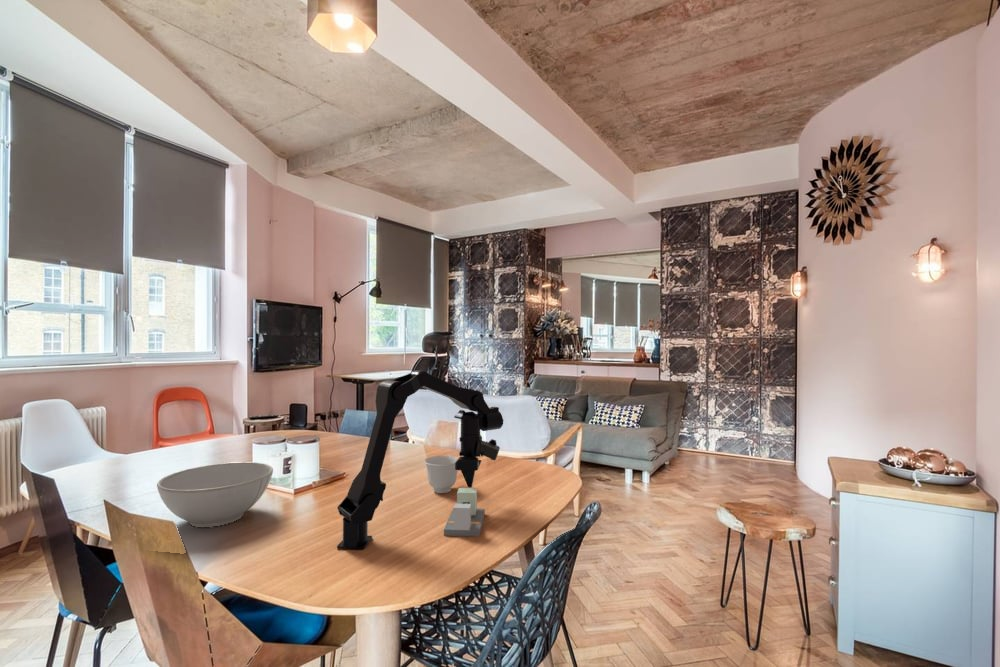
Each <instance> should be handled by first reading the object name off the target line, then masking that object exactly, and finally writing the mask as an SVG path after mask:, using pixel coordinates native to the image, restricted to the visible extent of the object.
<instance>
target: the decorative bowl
mask: <svg viewBox="0 0 1000 667" xmlns="http://www.w3.org/2000/svg"><path fill="white" fill-rule="evenodd" d="M273 474H274V468H273V467H272V466H271V465H269V464H267V463H264V462H257V461H256V462H253V461H234V462H223V463H212V464H207V465H202V466H195V467H191V468H187V469H183V470H179V471H177V472H173V473H171V474H168V475H166V476H164V477H162V478H160V479H159V480H158V481H157V483H156V488H157V491H158V494H159V496H160V498H161V500H162V502H163V504H164V505H165V506H166V508H167V509H168V510H169V511H170V512H171V513H172V514H173V515H175V516H176V517H178V518H180V519H181V520H184V521H187V522H189V524H191V525H192V526H191V525H190V526H191V527H193V526H196V527H195V528H197V527H210V528H214V527H213V526H218V527H221V526H220V525H222V526H225V525H224V524H226V525H229V524H228V523H230V524H232V523H235V522H237V521H239V520H240V519H241V517H242V516H244V514H245V512H246V511H248V510H250V509H251V508H252V507H253V506H254V505H255V504H256V503H257V502H258V501H259V500H260V499H261V497H262V496H263V495H264V493H265V491H266V490H267V488H268V487H269V484H270V482H271V479H272V476H273ZM242 518H243V517H242ZM238 519H239V520H238ZM236 520H237V521H236ZM234 521H235V522H234ZM231 522H232V523H231Z"/></svg>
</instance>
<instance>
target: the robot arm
mask: <svg viewBox="0 0 1000 667" xmlns="http://www.w3.org/2000/svg"><path fill="white" fill-rule="evenodd" d="M421 388H423V389H426V390H428V391H430V392H434V393H436V394H437V395H441V396H443V397H446V398H448V399H449V400H451V401H452V402H453V403H454V404H455V405H456V406H458V407H460V408H461V409H460V410H459V411H458V412H457V413H456V414H455V415H454V419H459V420H460V437H459V442H460V451H459V454H458V455H459V457H458V459H457V461H456V462H455V470H458V471H460V472H461V474H462V476H463V478H464V481H465V483H466V485H467V488H473V483H474V478H475V475H476V471H479V467H480V465H481V463H482V459H479V457H487V458H488V459H490V460H492V461H496V460H497V457H498V454H499V451H500V446H499V445H497V440H495V439H493V438H492V439H490V440H489V441H486V440H483V436H482V434H481V431H482V432H487V431H493V430H495V431H496V430H499V429H501V428H502V427H503V425H504V418H503V414H502V413H501V411H500V407H499V406H491V407H489V405H488V403H487V402H486V400H485V399H484V398H485V397H484V394H483V392H481V391H479V390H475V389H471V388H465V387H459V385H458V386H457V385H455V384H453V383H450V382H449V381H447V380H444V379H441V378H440V377H437V376H435V375H432V374H430V373H428V372H427V371H425V370H419V369H418V370H417V369H415V370H413V371H412V372H409V373H407V374H404V375H402V376H398V377H396V378H393V379H391V380H390V379H387V380H383V381H382V382H380V383H379V384H378V386H377V388H376V394H375V408H376V416H375V419H374V423H373V425H372V426H373V427H372V430H371V433H370V436H369V441H368V444H367V448H366V452H365V455H364V460H363V463H362V466H361V469H360V471H359V472H358V474H357V475H356V476H355V477H354V479H353V480H352V483H351V485H350V487H349V489H348V491H347V495H346V496H345V498H344V499H342V501H341V502H340V503H339V505H338V506H337V511H338V513H339V515H340V516H342V540H341V541H340V542H339V543H338V544H337V545H336V549H337V550H338V549H341V550H342V549H344V550H364V549H365V548H366V547H367V546H368V544H369V543H370V542H371V541H372V539H373V535H368V533H369V532H368V530H369V529H368V527H369V523H368V522H370V521H372V520H373V517H374V514H375V513H376V512H375V511H376V509H378V507H379V505H380V503H381V502H383V501H384V498H383V497H384V493H385V490H386V487H387V483H386V482H384V481H382V479H381V472H382V470H383V469H382V468H383V464H384V460H385V458H386V454H387V450H388V446H389V444H390V443H389V442H390V439H391V435H392V431H393V428H394V424H395V420H396V418H397V417H398V414H400V412H401V411H403V410H402V409H403V408H404V407H405V404H406V401H407V399H408V397H411V396H412V395H414V394H416V392H418V391H419V390H420V389H421ZM463 409H464V410H463ZM465 409H466V410H469V411H466V410H465ZM475 412H476V413H475Z"/></svg>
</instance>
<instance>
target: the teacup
mask: <svg viewBox="0 0 1000 667" xmlns="http://www.w3.org/2000/svg"><path fill="white" fill-rule="evenodd" d="M458 458H459V457H457V456H455V455H453V454H449V455H435V456H430V457H427V458H426V459H424V461H423V462H424V464H425V465H426V466H425V467H426V473H427V480H428V484H429V485H430V486H431V487H432V488H433V492H434V493H437V494H446V493H449V492H451V491H452V488H451V487H453V486H454V485H455V484H456V482H457V477H458V471H459V470H455V462H456V461H457V459H458Z"/></svg>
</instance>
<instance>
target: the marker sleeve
mask: <svg viewBox="0 0 1000 667" xmlns="http://www.w3.org/2000/svg"><path fill="white" fill-rule="evenodd" d="M464 502H470V504H471V515H476V511H477V509H478V488H476V487H475V488H473V487H459V488H458V489H457V492H456V504H464Z"/></svg>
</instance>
